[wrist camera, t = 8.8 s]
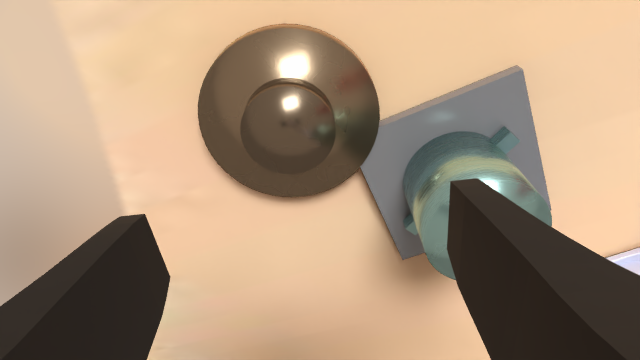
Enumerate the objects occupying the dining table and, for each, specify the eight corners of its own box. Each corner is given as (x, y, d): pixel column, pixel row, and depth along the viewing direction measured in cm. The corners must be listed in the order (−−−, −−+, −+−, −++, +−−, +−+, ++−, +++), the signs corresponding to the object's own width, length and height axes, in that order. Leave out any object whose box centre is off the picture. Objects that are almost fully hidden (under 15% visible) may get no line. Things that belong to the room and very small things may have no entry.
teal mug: (440, 244, 23) (467, 309, 19) (370, 197, 22) (384, 257, 18) (541, 158, 21) (595, 213, 17) (471, 96, 19) (513, 142, 15)
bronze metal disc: (400, 152, 21) (408, 173, 19) (254, 209, 23) (250, 233, 21) (336, -10, 17) (339, -3, 15) (166, 71, 19) (151, 86, 17)
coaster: (545, 203, 23) (551, 210, 22) (400, 252, 24) (402, 260, 24) (517, 65, 19) (522, 69, 18) (346, 134, 20) (347, 139, 20)
